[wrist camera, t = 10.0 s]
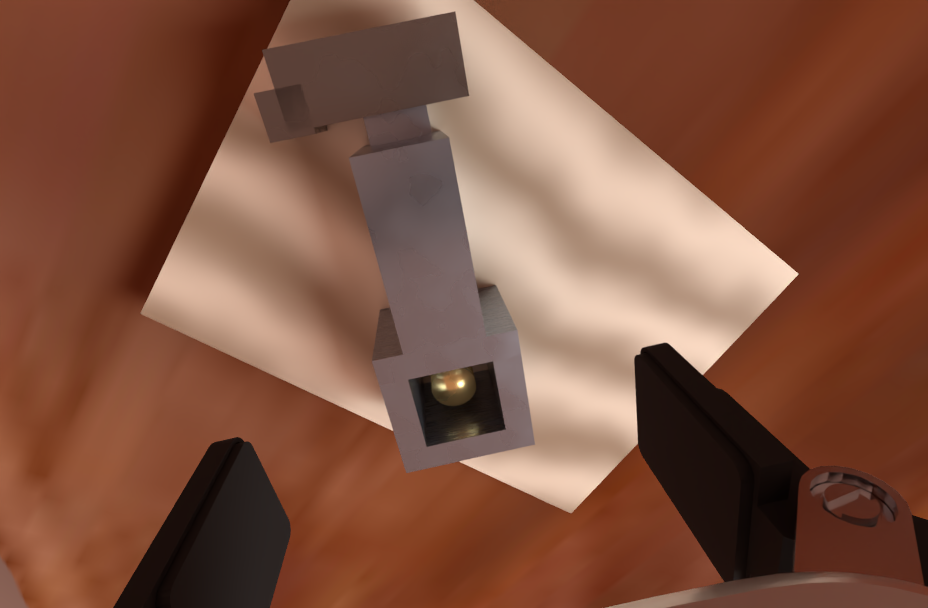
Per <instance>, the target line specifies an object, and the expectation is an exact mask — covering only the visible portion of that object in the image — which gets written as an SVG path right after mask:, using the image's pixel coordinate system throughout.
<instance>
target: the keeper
mask: <svg viewBox="0 0 928 608" xmlns="http://www.w3.org/2000/svg"><path fill="white" fill-rule="evenodd" d="M262 52H263V55H264V58H265V61H266V64H267V67H268V71H269V74H270V77H271V80H272V83H273V86H274V89H273V90H268V91H263V92H258V93H253V94H254V97H255V99H256V102H257V105H258V108H259V111H260V114H261V117H262V120H263V123H264V126H265V129H266V132H267V135H268V138H269V141H270V143H274V142H278V141H283V140H288V139H293V138H298V137H303V136H308V135H313V134H317V133H321V132H324V131H328V129H327V126H326V125H329V124H334V123H339V122H344V121H349V120H354V119H359V118H364V117H368V116H373V115H378V114H383V113H388V112H393V111H398V110H403V109H408V108H413V107H418V106H422V105H427V104H432V103H437V102H442V101H447V100H452V99H457V98H462V97H467V96H469V91H468V85H467V79H466V73H465V67H464V61H463V55H462V49H461V43H460V37H459V31H458V25H457V18H456V12H450V13H445V14H440V15H435V16H430V17H424V18H419V19H414V20H409V21H404V22H399V23H394V24H389V25H384V26H379V27H374V28H369V29H364V30H359V31H354V32H349V33H344V34H339V35H334V36H329V37H324V38H319V39H314V40H309V41H304V42H299V43H294V44H289V45H284V46H279V47H274V48H269V49H264V50H262Z"/></svg>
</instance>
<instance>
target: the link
mask: <svg viewBox="0 0 928 608" xmlns="http://www.w3.org/2000/svg"><path fill="white" fill-rule="evenodd" d="M363 119H364V123H365V127H366V131H367V135H368V138H369V142H370V145H366V146H363V147H362V148H360V149H359V150H358V151H357V152H355V153H354V154H353V155H352V156H350V157H349V161H350V164H351V168H352V172H353V175H354V179H355V182H356V186H357V190H358V193H359V197H360V201H361V204H362V208H363V211H364V215H365V219H366V222H367V226H368V229H369V233H370V237H371V240H372V244H373V248H374V251H375V255H376V258H377V262H378V266H379V269H380V273H381V276H382V280H383V284H384V287H385V291H386V295H387V298H388V302H389V305H390V308H385V309H381V310H380V312H379V318H378V324H377V331H376V337H375V344H374V350H373V356H372V364H373V367H374V370H375V374H376V377H377V380H378V383H379V386H380V390H381V393H382V396H383V399H384V402H385V406H386V409H387V412H388V415H389V418H390V422H391V425H392V428H393V431H394V435H395V438H396V441H397V444H398V447H399V451H400V454H401V457H402V460H403V463H404V467H405V470H406V473H408V472H413V471H418V470H422V469H427V468H431V467H436V466H440V465H445V464H449V463H454V462H458V461H463V460H467V459H472V458H476V457H481V456H485V455H490V454H495V453H499V452H504V451H508V450H513V449H517V448H522V447H526V446H531V445H535V441H534V434H533V428H532V421H531V415H530V408H529V402H528V395H527V389H526V382H525V376H524V369H523V363H522V356H521V350H520V343H519V337H518V330H517V328H516V326H515V324H514V322H513V320H512V317H511V315H510V313H509V311H508V309H507V307H506V305H505V303H504V301H503V298H502V296H501V294H500V292H499V290H498V288H497V286H496V285H493V286H489V287H484V288H479V289H477V284H476V278H475V273H474V268H473V262H472V257H471V252H470V246H469V241H468V236H467V230H466V225H465V219H464V214H463V209H462V203H461V198H460V193H459V187H458V182H457V177H456V171H455V166H454V161H453V155H452V150H451V145H450V139H449V137H448V136H447V135H446V134H444V133H443V132H442V131H441V130H439V131H434V132H432V131H431V126H430V121H429V116H428V111H427V106H426V105H422V106H418V107H413V108H408V109H403V110H398V111H393V112H388V113H383V114H378V115H373V116H368V117H364V118H363ZM483 363H487V366H488V369H487V370H483V371H478V372H474V377H475V381H476V390H475V393H474V395H473V397H472V398H471V399H470V400H469V401H467V402H466V403H464V404H461V405H458V406H447V405H444V404H442V403H440V402H438V401H437V400H436V399H435V397H434V396H433V393H432V387H431V382H427V383H424V382H423V378H422V377H423V376H428V375H432V374H437V373H442V372H446V371H451V370H455V369H460V368H465V367H469V366H474V365H478V364H483Z"/></svg>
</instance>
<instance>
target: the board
mask: <svg viewBox="0 0 928 608" xmlns="http://www.w3.org/2000/svg"><path fill="white" fill-rule="evenodd" d="M450 12H456V18H457V25H458V31H459V37H460V43H461V49H462V55H463V61H464V67H465V73H466V79H467V85H468V91H469V96H467V97H462V98H457V99H452V100H447V101H442V102H437V103H432V104H427V105H426V106H427V111H428V116H429V121H430V126H431V131H432V132H434V131H439V130H441V131H442V132H443V133H444V134H446V135H447V136H448V137H449V139H450V145H451V150H452V155H453V161H454V166H455V171H456V177H457V182H458V187H459V193H460V198H461V203H462V209H463V214H464V219H465V225H466V230H467V236H468V241H469V246H470V252H471V257H472V262H473V268H474V273H475V278H476V284H477V289H479V288H484V287H489V286H493V285H496V286H497V288H498V290H499V292H500V294H501V296H502V298H503V301H504V303H505V305H506V307H507V309H508V311H509V313H510V315H511V317H512V320H513V322H514V324H515V326H516V328H517V330H518V337H519V343H520V350H521V356H522V363H523V369H524V376H525V382H526V389H527V395H528V402H529V408H530V415H531V421H532V428H533V434H534V441H535V445H531V446H526V447H522V448H517V449H513V450H508V451H504V452H499V453H495V454H490V455H485V456H481V457H476V458H472V459H467V460H463V461H459V462H461V463H463V464H466V465H468V466H470V467H472V468H474V469H476V470H478V471H481V472H483V473H485V474H487V475H489V476H491V477H494V478H496V479H498V480H500V481H502V482H504V483H506V484H509V485H511V486H513V487H515V488H517V489H519V490H522V491H524V492H526V493H528V494H530V495H532V496H534V497H537V498H539V499H541V500H543V501H545V502H547V503H550V504H552V505H554V506H556V507H558V508H560V509H563V510H565V511H567V512H569V513H572V512H573V511H574V510H575V509H576V508H577V507H578V506H579V504H580V503H581V502H582V501H583V500H584V499H585V498H586V497H587V496H588V495H589V494H590V493H591V492H592V491H593V490H594V489H595V488H596V487H597V486H598V485H599V483H600V482H601V481H602V480H603V479H604V478H605V477H606V476H607V475H608V474H609V473H610V472H611V471H612V470H613V469H614V468H615V467H616V466H617V465H618V463H619V462H620V461H621V460H622V459H623V458H624V457H625V456H626V455H627V454H628V453H629V452H630V451H631V450H632V449H633V448H634V447H635V446H636V445H637V444H638V434H637V412H636V389H635V367H634V358H635V356H636V355H639V354H640V351H641V349H642V348H643V347H647V346H651V345H656V344H660V343H668V344H670V345H671V346H672V347H673V348H674V349H675V350H676V351H677V352H678V353H679V354H680V355H682V356H683V357H684V358H685V359H686V360H687V361H688V362H689V363H690V364H691V365H692V366H693V367H694V368H695V369H696V370H698V371H699V372H700V373H701V374H702V375H703V374H704V373H705V372H706V371H707V370H708V369H709V368H710V367H711V366H712V365H713V364H714V363H715V361H716V360H717V359H718V358H719V357H720V356H721V355H722V354H723V353H724V352H725V351H726V350H727V349H728V348H729V347H730V346H731V345H732V344H733V343H734V342H735V340H736V339H737V338H738V337H739V336H740V335H741V334H742V333H743V332H744V331H745V330H746V329H747V328H748V327H749V326H750V325H751V324H752V323H753V322H754V320H755V319H756V318H757V317H758V316H759V315H760V314H761V313H762V312H763V311H764V310H765V309H766V308H767V307H768V306H769V305H770V304H771V303H772V302H773V301H774V299H775V298H776V297H777V296H778V295H779V294H780V293H781V292H782V291H783V290H784V289H785V288H786V287H787V286H788V285H789V284H790V283H791V282H792V281H793V279H794V278H795V277H796V276H797V275H798V273H797V272H796V271H794V270H793V269H792V268H791V267H790V266H788V265H787V264H786V263H785V262H784V261H783V260H781V259H780V258H779V257H778V256H777V255H775V254H774V253H773V252H772V251H771V250H769V249H768V248H767V247H766V246H765V245H763V244H762V243H761V242H760V241H759V240H758V239H756V238H755V237H754V236H753V235H752V234H750V233H749V232H748V231H747V230H746V229H744V228H743V227H742V226H741V225H740V224H739V223H737V222H736V221H735V220H734V219H733V218H731V217H730V216H729V215H728V214H727V213H725V212H724V211H723V210H722V209H721V208H720V207H718V206H717V205H716V204H715V203H714V202H712V201H711V200H710V199H709V198H708V197H706V196H705V195H704V194H703V193H702V192H701V191H699V190H698V189H697V188H696V187H695V186H693V185H692V184H691V183H690V182H689V181H687V180H686V179H685V178H684V177H683V176H682V175H680V174H679V173H678V172H677V171H676V170H674V169H673V168H672V167H671V166H670V165H668V164H667V163H666V162H665V161H664V160H663V159H661V158H660V157H659V156H658V155H657V154H655V153H654V152H653V151H652V150H651V149H649V148H648V147H647V146H646V145H645V144H644V143H642V142H641V141H640V140H639V139H638V138H636V137H635V136H634V135H633V134H632V133H630V132H629V131H628V130H627V129H626V128H625V127H623V126H622V125H621V124H620V123H619V122H617V121H616V120H615V119H614V118H613V117H611V116H610V115H609V114H608V113H607V112H606V111H604V110H603V109H602V108H601V107H600V106H598V105H597V104H596V103H595V102H594V101H592V100H591V99H590V98H589V97H588V96H587V95H585V94H584V93H583V92H582V91H581V90H579V89H578V88H577V87H576V86H575V85H573V84H572V83H571V82H570V81H569V80H568V79H566V78H565V77H564V76H563V75H562V74H560V73H559V72H558V71H557V70H556V69H554V68H553V67H552V66H551V65H550V64H549V63H547V62H546V61H545V60H544V59H543V58H541V57H540V56H539V55H538V54H537V53H535V52H534V51H533V50H532V49H531V48H530V47H528V46H527V45H526V44H525V43H524V42H522V41H521V40H520V39H519V38H518V37H516V36H515V35H514V34H513V33H512V32H511V31H509V30H508V29H507V28H506V27H505V26H503V25H502V24H501V23H500V22H499V21H497V20H496V19H495V18H494V17H493V16H492V15H490V14H489V13H488V12H487V11H486V10H484V9H483V8H482V7H481V6H480V5H478V4H477V3H476V2H475V1H474V0H290V2H289V4H288V6H287V8H286V10H285V12H284V14H283V17H282V19H281V21H280V23H279V25H278V27H277V29H276V31H275V33H274V35H273V37H272V40H271V42H270V44H269V46H268V48H267V49H269V48H274V47H279V46H284V45H289V44H294V43H299V42H304V41H309V40H314V39H319V38H324V37H329V36H334V35H339V34H344V33H349V32H354V31H359V30H364V29H369V28H374V27H379V26H384V25H389V24H394V23H399V22H404V21H409V20H414V19H419V18H424V17H430V16H435V15H440V14H445V13H450ZM273 89H274V86H273V83H272V80H271V77H270V74H269V71H268V67H267V64H266V61H265V58H264V56H263V58H262V60H261V63H260V65H259V67H258V69H257V71H256V73H255V75H254V77H253V79H252V81H251V83H250V86H249V88H248V90H247V92H246V94H245V96H244V98H243V100H242V102H241V104H240V106H239V109H238V111H237V113H236V115H235V117H234V119H233V121H232V123H231V125H230V127H229V129H228V131H227V134H226V136H225V138H224V140H223V142H222V144H221V146H220V148H219V150H218V152H217V154H216V157H215V159H214V161H213V163H212V165H211V167H210V169H209V171H208V173H207V175H206V177H205V180H204V182H203V184H202V186H201V188H200V190H199V192H198V194H197V196H196V198H195V200H194V203H193V205H192V207H191V209H190V211H189V213H188V215H187V217H186V219H185V221H184V223H183V226H182V228H181V230H180V232H179V234H178V236H177V238H176V240H175V242H174V244H173V246H172V249H171V251H170V253H169V255H168V257H167V259H166V261H165V263H164V265H163V267H162V269H161V271H160V274H159V276H158V278H157V280H156V282H155V284H154V286H153V288H152V290H151V292H150V294H149V297H148V299H147V301H146V303H145V305H144V307H143V309H142V311H141V313H140V314H142V315H144V316H146V317H149V318H151V319H153V320H155V321H157V322H159V323H162V324H164V325H166V326H168V327H170V328H172V329H174V330H177V331H179V332H181V333H183V334H185V335H187V336H190V337H192V338H194V339H196V340H198V341H200V342H203V343H205V344H207V345H209V346H211V347H213V348H215V349H218V350H220V351H222V352H224V353H226V354H228V355H231V356H233V357H235V358H237V359H239V360H241V361H243V362H246V363H248V364H250V365H252V366H254V367H256V368H259V369H261V370H263V371H265V372H267V373H269V374H272V375H274V376H276V377H278V378H280V379H282V380H284V381H287V382H289V383H291V384H293V385H295V386H297V387H300V388H302V389H304V390H306V391H308V392H310V393H312V394H315V395H317V396H319V397H321V398H323V399H325V400H328V401H330V402H332V403H334V404H336V405H338V406H340V407H343V408H345V409H347V410H349V411H351V412H353V413H356V414H358V415H360V416H362V417H364V418H366V419H369V420H371V421H373V422H375V423H377V424H379V425H381V426H384V427H386V428H388V429H390V430H392V431H393V428H392V425H391V422H390V418H389V415H388V412H387V409H386V406H385V402H384V399H383V396H382V393H381V390H380V386H379V383H378V380H377V377H376V374H375V370H374V367H373V364H372V356H373V350H374V344H375V337H376V331H377V324H378V318H379V312H380V310H381V309H385V308H390V305H389V302H388V298H387V295H386V291H385V287H384V284H383V280H382V276H381V273H380V269H379V266H378V262H377V258H376V255H375V251H374V248H373V244H372V240H371V237H370V233H369V229H368V226H367V222H366V219H365V215H364V211H363V208H362V204H361V201H360V197H359V193H358V190H357V186H356V182H355V179H354V175H353V172H352V168H351V164H350V161H349V157H350V156H352V155H353V154H354V153H355V152H357V151H358V150H359V149H360V148H362V147H363V146H366V145H370V142H369V138H368V135H367V131H366V127H365V123H364V119H363V118H359V119H354V120H349V121H344V122H339V123H334V124H329V125H326V126H327V129H328V131H324V132H321V133H317V134H313V135H308V136H303V137H298V138H293V139H288V140H283V141H278V142H274V143H270V141H269V138H268V135H267V132H266V129H265V126H264V123H263V120H262V117H261V114H260V111H259V108H258V105H257V102H256V99H255V97H254V94H253V93H258V92H263V91H268V90H273ZM472 368H473V373H474V372H478V371H483V370H487V369H488V366H487V363H483V364H478V365H474V366H472ZM422 378H423V382H424V383H427V382H431V375H428V376H423V377H422Z"/></svg>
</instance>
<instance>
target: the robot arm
mask: <svg viewBox="0 0 928 608" xmlns="http://www.w3.org/2000/svg"><path fill="white" fill-rule="evenodd" d="M634 367H635V389H636V412H637V434H638V445H639V449H640V452H641V454H642V456H643V458H644V459H645V461H646V462H647V464H648V465H649V467H650V469H651V470H652V472H653V473H654V475H655V476H656V478H657V479H658V481H659V482H660V484H661V485H662V487H663V488H664V490H665V492H666V493H667V495H668V496H669V498H670V499H671V501H672V502H673V504H674V505H675V507H676V508H677V510H678V511H679V513H680V514H681V516H682V518H683V519H684V521H685V522H686V524H687V525H688V527H689V528H690V530H691V531H692V533H693V534H694V536H695V537H696V539H697V541H698V542H699V544H700V545H701V547H702V548H703V550H704V551H705V553H706V554H707V556H708V557H709V559H710V560H711V562H712V564H713V565H714V567H715V568H716V570H717V571H718V573H719V574H720V576H721V577H722V579H723V580H724V582H725V583H720V584H715V585H710V586H705V587H700V588H695V589H690V590H685V591H681V592H676V593H671V594H666V595H661V596H656V597H652V598H647V599H643V600H638V601H634V602H629V603H625V604H620V605H616V606H611V607H607V608H928V520H926V519H923V518H920V517H916V516H913V515H912V514H911V511H910V509H909V506H908V504H907V502H906V501H905V500H904V499H903V497H902V496H901V495H900V494H899V493H898V492H897V491H896V490H895V489H893V488H892V487H891V486H889V485H888V484H886V483H885V482H884V481H882V480H880V479H878V478H876V477H874V476H872V475H870V474H868V473H865V472H862V471H858V470H855V469H852V468H847V467H840V466H819V467H816V468H813V469H809V468H808V467H807V466H806V465H805V464H804V463H803V462H802V461H801V460H799V459H798V458H797V457H796V456H795V455H794V454H793V453H792V452H791V451H790V450H789V449H787V448H786V447H785V446H784V445H783V444H782V443H781V442H780V441H779V440H778V439H777V438H775V437H774V436H773V435H772V434H771V433H770V432H769V431H768V430H767V429H766V428H765V427H763V426H762V425H761V424H760V423H759V422H758V421H757V420H756V419H755V418H754V417H753V416H752V415H750V414H749V413H748V412H747V411H746V410H745V409H744V408H743V407H742V406H741V405H740V404H738V403H737V402H736V401H735V400H734V399H733V398H732V397H731V396H730V395H729V394H728V393H726V392H725V391H723V390H722V389H718V388H716V387H715V386H714V385H713V384H711V383H710V382H709V381H708V380H707V379H706V378H705V377H704V376H703V375H702V374H701V373H700V372H699V371H698V370H696V369H695V368H694V367H693V366H692V365H691V364H690V363H689V362H688V361H687V360H686V359H685V358H684V357H683V356H682V355H680V354H679V353H678V352H677V351H676V350H675V349H674V348H673V347H672V346H671V345H670V344H668V343H660V344H656V345H651V346H647V347H643V348H642V349H641V351H640V354H639V355H636V356H635V358H634ZM290 531H291V529H290V522H289V519H288V517H287V515H286V513H285V511H284V509H283V507H282V505H281V503H280V501H279V499H278V497H277V495H276V493H275V491H274V489H273V487H272V485H271V483H270V481H269V479H268V477H267V475H266V472H265V470H264V468H263V466H262V464H261V462H260V460H259V458H258V456H257V454H256V452H255V450H254V448H253V446H252V445H251V443H250V442H244V441H243V440H242V439H241V438H238V437H236V438H232V439H227V440H223V441H218V442H215V443H212V444H211V445H210V447H209V448H208V450H207V452H206V453H205V455H204V457H203V458H202V460H201V462H200V463H199V465H198V467H197V468H196V470H195V472H194V473H193V475H192V477H191V478H190V480H189V482H188V483H187V485H186V487H185V488H184V490H183V492H182V493H181V495H180V497H179V498H178V500H177V502H176V503H175V505H174V507H173V508H172V510H171V512H170V514H169V515H168V517H167V519H166V520H165V522H164V524H163V525H162V527H161V529H160V530H159V532H158V534H157V535H156V537H155V539H154V540H153V542H152V544H151V545H150V547H149V549H148V550H147V552H146V554H145V555H144V557H143V559H142V560H141V562H140V564H139V565H138V567H137V569H136V570H135V572H134V574H133V575H132V577H131V579H130V581H129V582H128V584H127V586H126V587H125V589H124V591H123V592H122V594H121V596H120V597H119V599H118V601H117V602H116V604H115V606H114V607H113V608H270V605H271V601H272V598H273V594H274V591H275V587H276V584H277V580H278V577H279V573H280V570H281V566H282V563H283V559H284V556H285V552H286V549H287V545H288V542H289V538H290Z"/></svg>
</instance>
